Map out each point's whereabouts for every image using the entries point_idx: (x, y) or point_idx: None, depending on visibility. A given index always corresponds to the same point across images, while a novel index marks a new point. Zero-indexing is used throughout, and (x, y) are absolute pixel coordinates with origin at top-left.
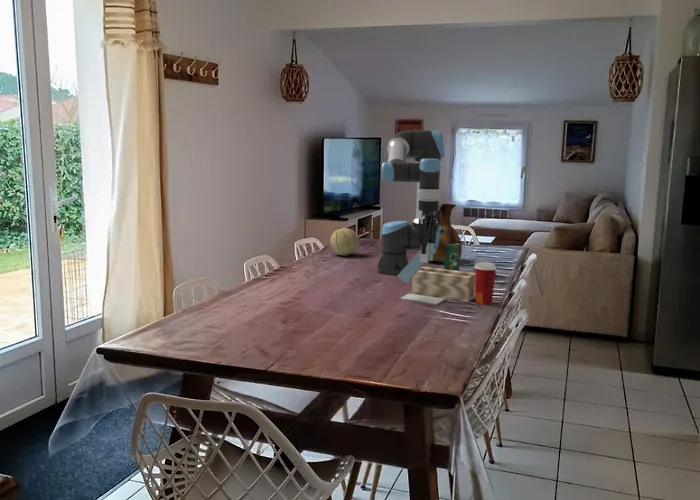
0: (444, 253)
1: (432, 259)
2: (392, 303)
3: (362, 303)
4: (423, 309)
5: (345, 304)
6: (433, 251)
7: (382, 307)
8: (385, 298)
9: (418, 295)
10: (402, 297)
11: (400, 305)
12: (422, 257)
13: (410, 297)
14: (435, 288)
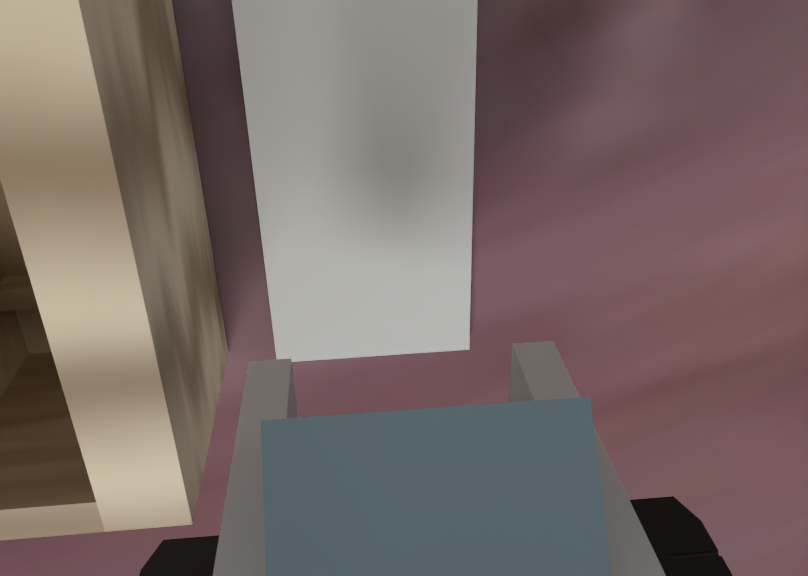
0: None
1: (247, 375)
2: (632, 329)
3: (728, 483)
4: (722, 3)
5: (797, 542)
6: (488, 426)
7: (788, 330)
8: None
9: (286, 266)
10: (450, 342)
11: (667, 249)
12: None
13: (408, 289)
14: (170, 146)
